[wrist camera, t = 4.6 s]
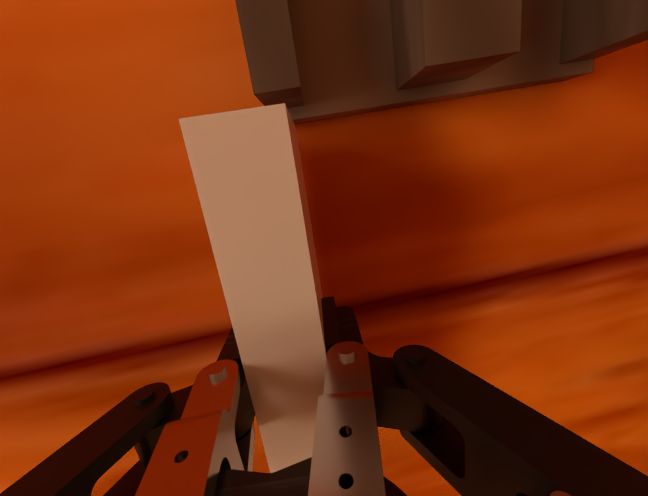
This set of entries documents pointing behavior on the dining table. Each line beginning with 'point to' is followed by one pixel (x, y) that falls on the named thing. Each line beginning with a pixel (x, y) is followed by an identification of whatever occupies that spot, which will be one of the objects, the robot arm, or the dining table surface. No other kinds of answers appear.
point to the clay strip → (265, 266)
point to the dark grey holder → (423, 48)
